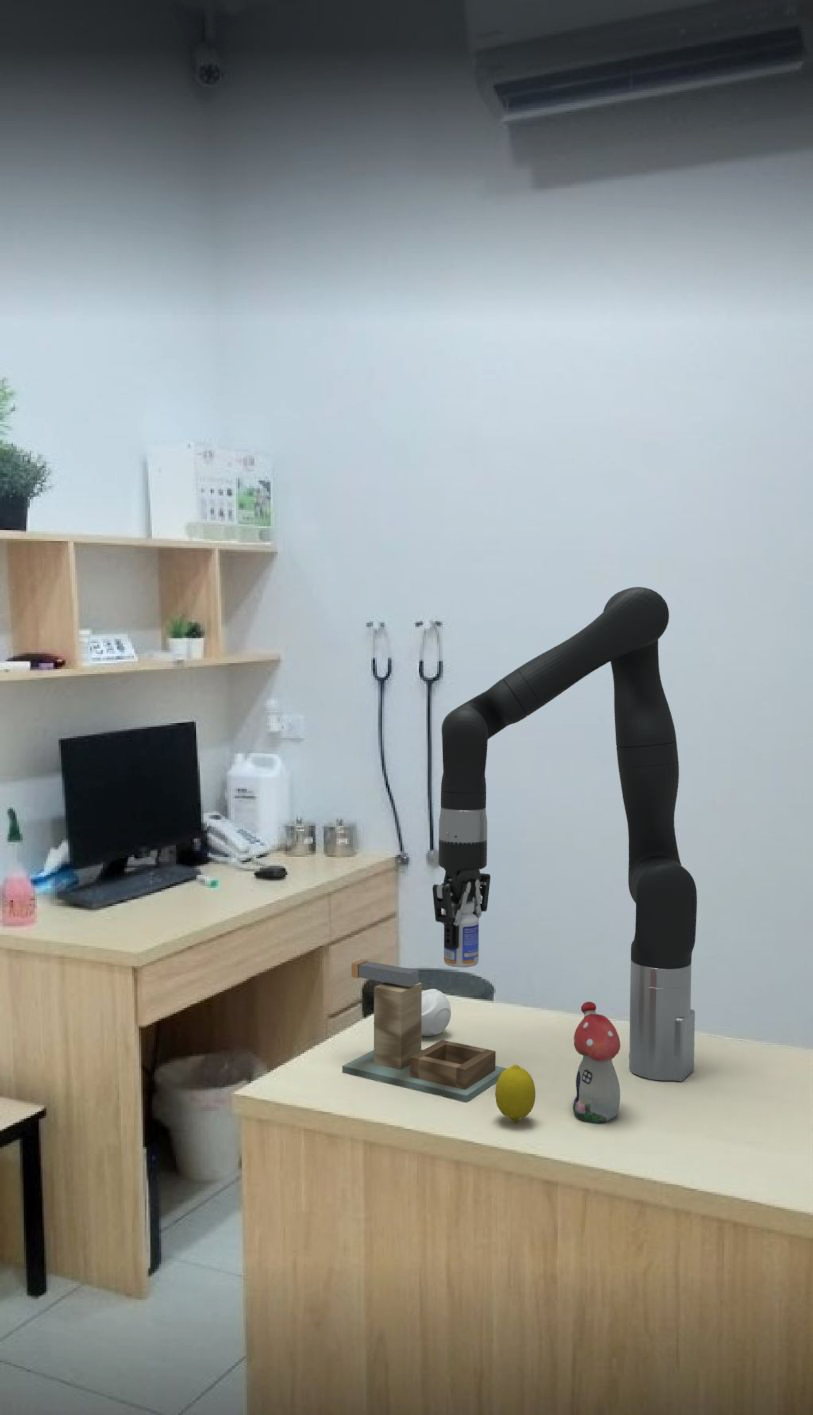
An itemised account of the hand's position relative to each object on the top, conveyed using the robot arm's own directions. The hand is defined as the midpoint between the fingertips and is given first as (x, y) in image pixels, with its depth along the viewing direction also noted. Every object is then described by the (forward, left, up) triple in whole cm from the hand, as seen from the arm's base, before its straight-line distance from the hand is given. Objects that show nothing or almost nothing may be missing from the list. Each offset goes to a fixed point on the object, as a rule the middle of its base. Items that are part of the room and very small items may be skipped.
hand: (461, 944), depth 178 cm
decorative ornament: (-25, +5, -20) cm, 32 cm away
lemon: (-17, +14, -20) cm, 29 cm away
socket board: (+3, +5, -20) cm, 21 cm away
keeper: (+11, +5, -6) cm, 13 cm away
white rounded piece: (+12, -11, -20) cm, 26 cm away
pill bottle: (0, 0, -3) cm, 3 cm away
